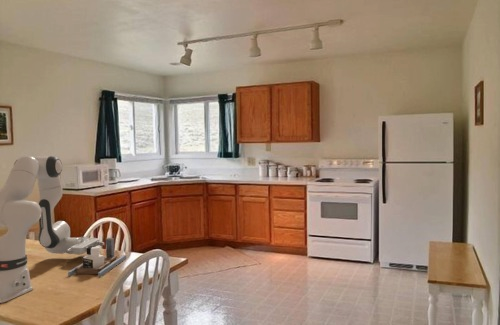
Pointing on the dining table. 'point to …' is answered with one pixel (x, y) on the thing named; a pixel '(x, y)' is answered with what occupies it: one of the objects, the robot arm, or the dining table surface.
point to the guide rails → (104, 268)
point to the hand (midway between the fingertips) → (99, 246)
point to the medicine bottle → (93, 258)
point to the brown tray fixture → (107, 259)
